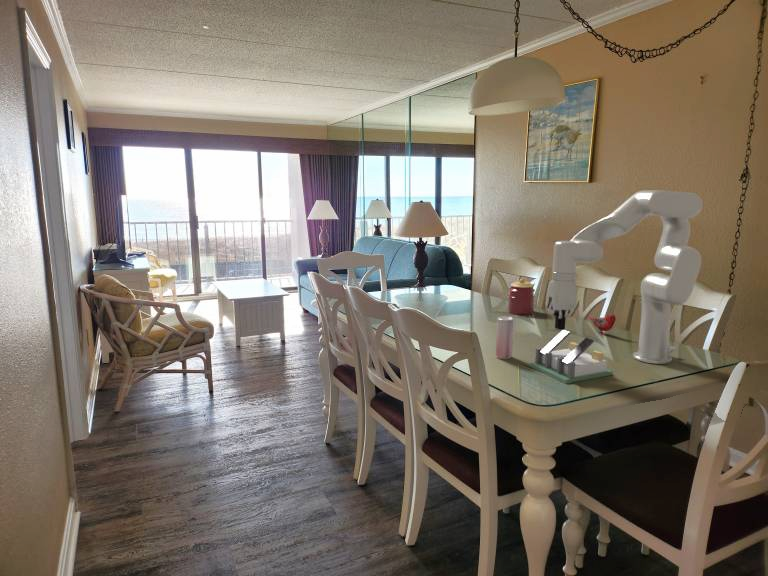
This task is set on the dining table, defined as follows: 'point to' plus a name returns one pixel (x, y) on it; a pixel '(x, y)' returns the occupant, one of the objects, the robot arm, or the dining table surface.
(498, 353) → the beverage can
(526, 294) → the canister
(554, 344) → the strap
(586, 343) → the near strap
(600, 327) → the decorative bird figurine
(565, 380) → the board
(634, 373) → the dining table surface
